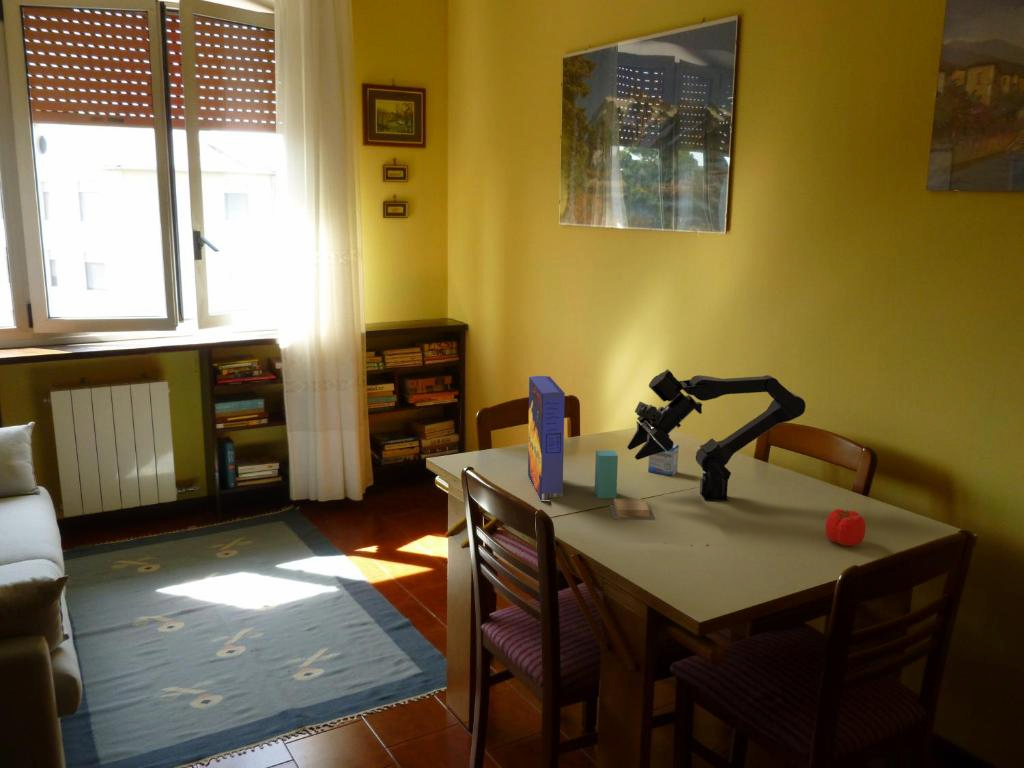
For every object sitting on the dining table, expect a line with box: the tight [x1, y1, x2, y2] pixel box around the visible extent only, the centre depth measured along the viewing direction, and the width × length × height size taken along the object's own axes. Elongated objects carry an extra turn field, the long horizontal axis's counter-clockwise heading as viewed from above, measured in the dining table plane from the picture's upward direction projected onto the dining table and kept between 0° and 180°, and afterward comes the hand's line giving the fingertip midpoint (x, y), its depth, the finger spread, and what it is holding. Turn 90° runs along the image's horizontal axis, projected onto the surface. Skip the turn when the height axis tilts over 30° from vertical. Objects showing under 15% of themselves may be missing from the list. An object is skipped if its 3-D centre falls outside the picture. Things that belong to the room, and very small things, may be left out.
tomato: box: [824, 508, 867, 547], centre depth 200 cm, size 9×9×8 cm
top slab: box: [613, 498, 651, 518], centre depth 216 cm, size 8×8×2 cm
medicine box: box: [647, 443, 680, 477], centre depth 252 cm, size 8×4×9 cm, turn 62°
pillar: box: [594, 449, 619, 499], centre depth 228 cm, size 5×5×13 cm
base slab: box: [608, 504, 654, 520], centre depth 216 cm, size 10×10×2 cm
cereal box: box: [527, 375, 566, 501], centre depth 235 cm, size 22×6×30 cm, turn 8°
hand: (632, 453), depth 227 cm, fingers open, 9 cm apart
